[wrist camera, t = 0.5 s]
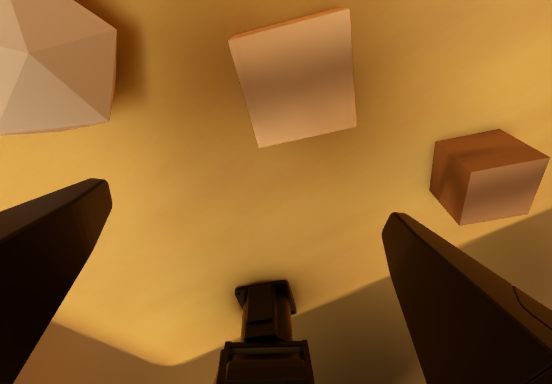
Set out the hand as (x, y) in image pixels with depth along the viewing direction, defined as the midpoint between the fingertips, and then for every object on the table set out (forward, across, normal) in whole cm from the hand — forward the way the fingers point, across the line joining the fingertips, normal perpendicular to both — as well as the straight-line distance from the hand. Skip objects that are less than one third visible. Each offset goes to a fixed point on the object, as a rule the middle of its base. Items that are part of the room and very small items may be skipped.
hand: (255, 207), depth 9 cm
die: (+14, +13, -1) cm, 19 cm away
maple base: (+14, -2, -1) cm, 14 cm away
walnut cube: (+14, -18, +3) cm, 23 cm away
